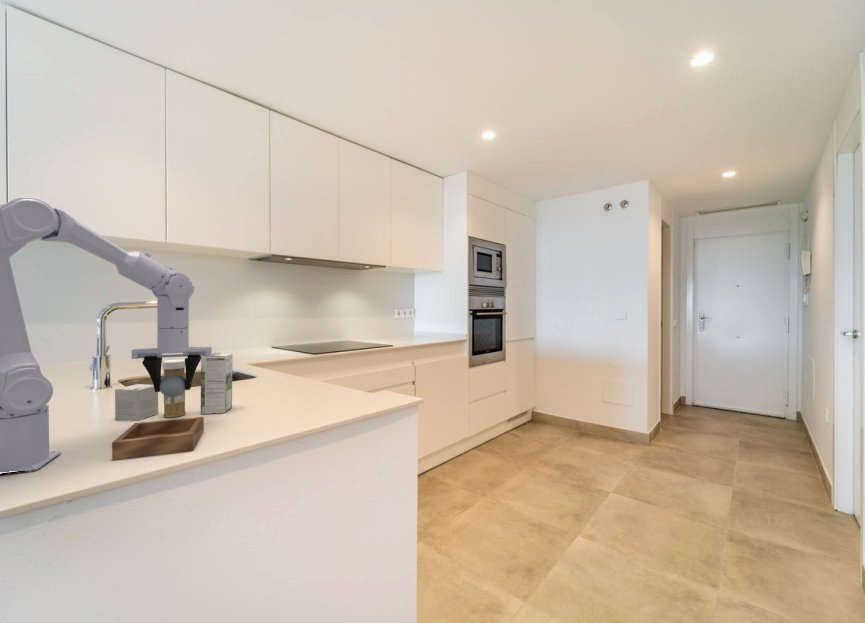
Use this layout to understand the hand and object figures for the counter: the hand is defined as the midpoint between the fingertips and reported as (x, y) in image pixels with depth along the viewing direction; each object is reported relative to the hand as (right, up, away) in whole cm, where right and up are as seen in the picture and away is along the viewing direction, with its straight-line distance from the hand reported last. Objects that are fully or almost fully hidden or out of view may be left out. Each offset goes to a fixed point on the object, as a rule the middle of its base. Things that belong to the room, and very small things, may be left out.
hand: (173, 390), depth 85 cm
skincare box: (-14, -8, +8) cm, 18 cm away
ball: (0, -2, 0) cm, 2 cm away
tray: (+5, -8, -10) cm, 14 cm away
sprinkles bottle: (-6, -8, +9) cm, 14 cm away
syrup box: (+2, -8, +13) cm, 16 cm away
